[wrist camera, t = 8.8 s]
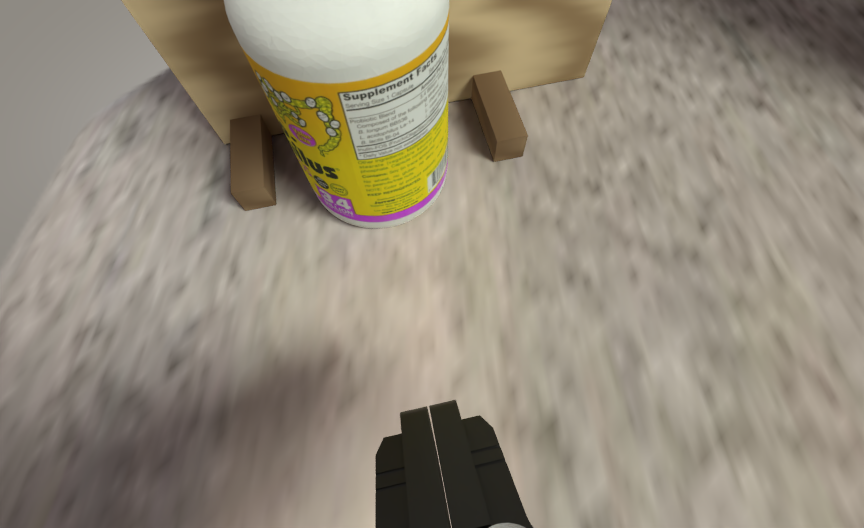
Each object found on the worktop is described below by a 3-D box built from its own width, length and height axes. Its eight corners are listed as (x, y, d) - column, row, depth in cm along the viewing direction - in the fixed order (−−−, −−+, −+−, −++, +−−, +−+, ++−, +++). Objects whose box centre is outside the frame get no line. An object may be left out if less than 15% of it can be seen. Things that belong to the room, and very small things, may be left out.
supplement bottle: (298, 154, 21) (119, -207, 10) (413, 109, 22) (378, -265, 11) (343, 257, 19) (174, -64, 7) (471, 201, 20) (509, -159, 8)
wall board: (571, 53, 24) (636, -156, 16) (615, 137, 21) (723, -61, 13) (224, 116, 23) (98, -75, 14) (224, 214, 20) (69, 48, 12)
